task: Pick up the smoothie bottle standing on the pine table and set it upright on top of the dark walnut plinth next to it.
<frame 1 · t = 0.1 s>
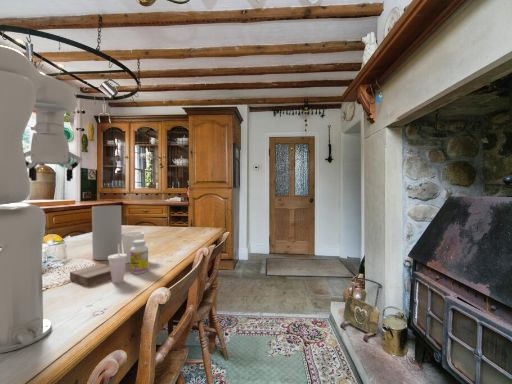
hand: (51, 180, 89), 37 cm above the table, tool pointing down, fingers open, 9 cm apart
smoothie: (117, 282, 96), on the table
plinth: (95, 277, 100), on the table
supplement bottle: (139, 272, 107), on the table
foam cup: (133, 261, 122), on the table
cylinder vase: (107, 257, 128), on the table
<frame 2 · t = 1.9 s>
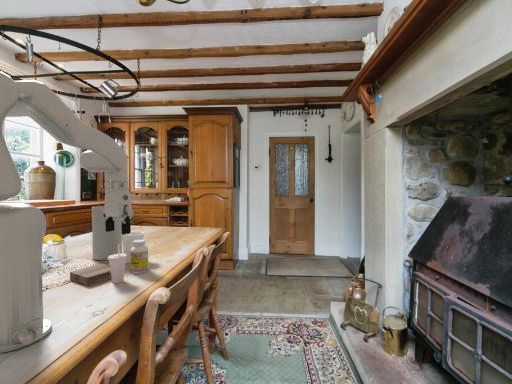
hand: (118, 232, 96), 18 cm above the table, tool pointing down, fingers open, 9 cm apart
nothing on the table moved.
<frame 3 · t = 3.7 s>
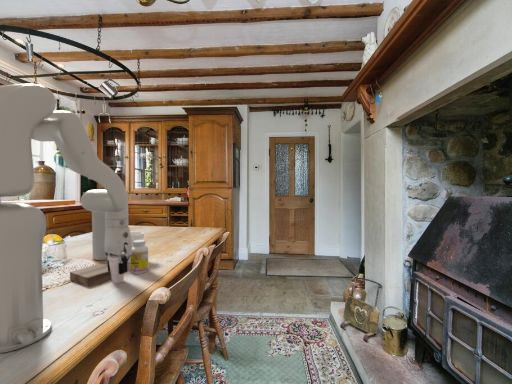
hand: (117, 271, 96), 4 cm above the table, tool pointing down, fingers closed on smoothie, 5 cm apart
smoothie: (117, 282, 96), on the table, touching gripper
everything else where it was.
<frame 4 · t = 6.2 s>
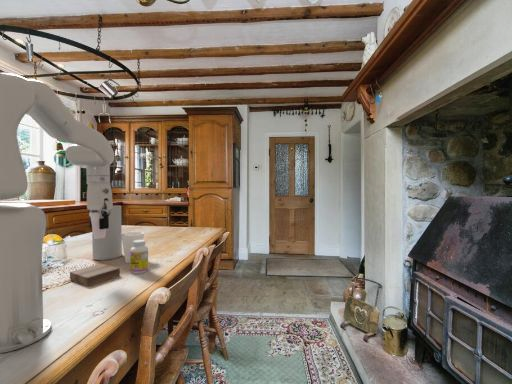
hand: (99, 227, 99), 20 cm above the table, tool pointing down, fingers closed on smoothie, 5 cm apart
smoothie: (99, 238, 99), point 16 cm above the table, touching gripper
everything else where it was.
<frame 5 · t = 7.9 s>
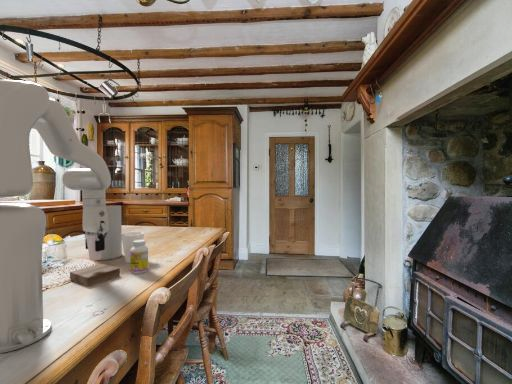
hand: (95, 249, 100), 11 cm above the table, tool pointing down, fingers closed on smoothie, 5 cm apart
smoothie: (95, 259, 100), point 7 cm above the table, touching gripper
everything else where it was.
when the fingers open (8 cm above the table, at t = 8.9 s): smoothie drops 1 cm, resting on plinth.
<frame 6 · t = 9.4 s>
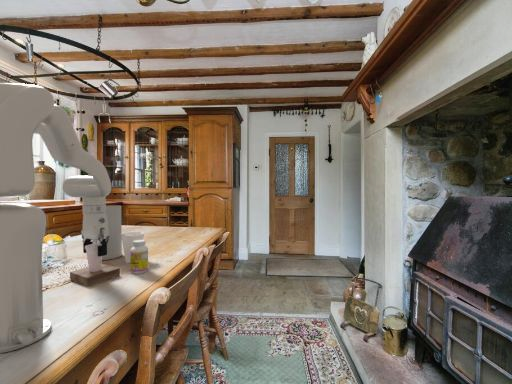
hand: (95, 253, 100), 9 cm above the table, tool pointing down, fingers open, 9 cm apart
smoothie: (95, 270, 100), point 3 cm above the table, touching plinth
everything else where it was.
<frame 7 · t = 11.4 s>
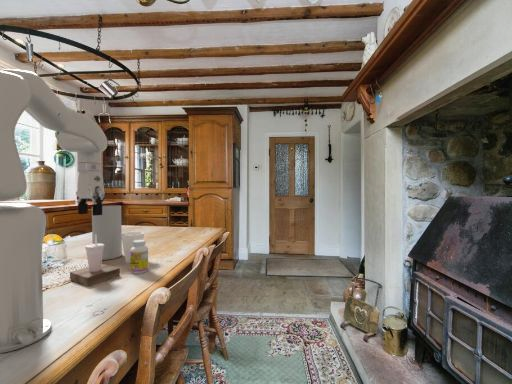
hand: (90, 214, 97), 25 cm above the table, tool pointing down, fingers open, 9 cm apart
nothing on the table moved.
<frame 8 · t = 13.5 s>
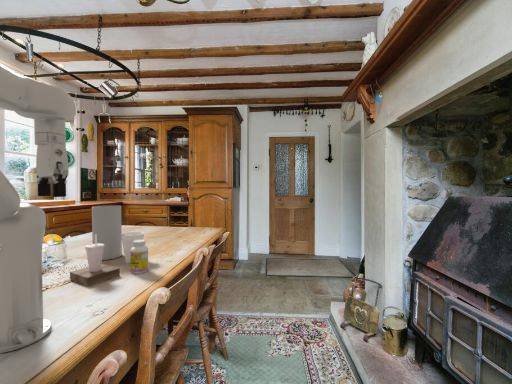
hand: (51, 196, 80), 32 cm above the table, tool pointing down, fingers open, 9 cm apart
nothing on the table moved.
at the end: smoothie 0.1 cm off-centre on the plinth, point 2.8 cm above the plinth's base; smoothie tilted 0°; the gripper is holding nothing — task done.
